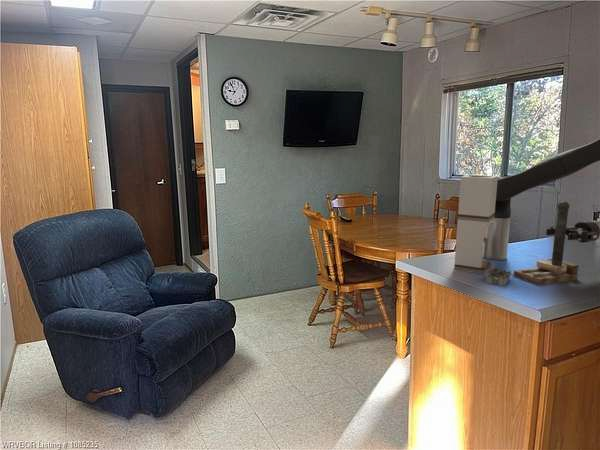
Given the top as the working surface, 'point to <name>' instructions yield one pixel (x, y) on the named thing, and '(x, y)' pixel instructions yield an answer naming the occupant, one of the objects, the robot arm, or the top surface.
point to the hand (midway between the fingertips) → (557, 234)
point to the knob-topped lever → (558, 241)
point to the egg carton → (497, 276)
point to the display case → (474, 221)
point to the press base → (548, 274)
